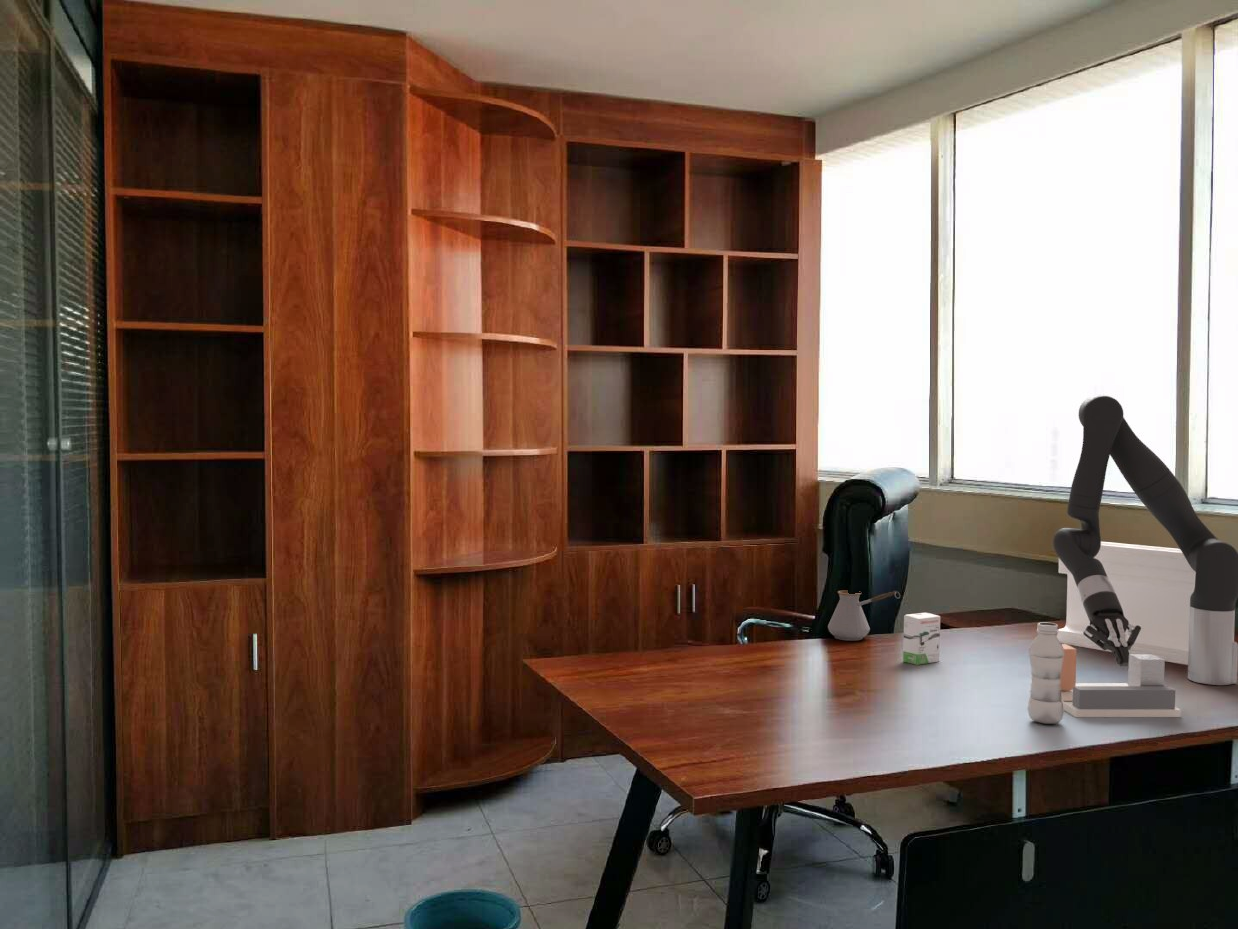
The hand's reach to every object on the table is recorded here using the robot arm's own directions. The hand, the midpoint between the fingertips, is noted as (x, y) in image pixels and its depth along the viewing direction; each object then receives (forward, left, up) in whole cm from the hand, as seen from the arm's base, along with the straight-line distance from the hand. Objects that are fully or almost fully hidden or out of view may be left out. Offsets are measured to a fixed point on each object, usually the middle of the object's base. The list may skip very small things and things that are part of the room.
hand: (1125, 664), depth 233 cm
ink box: (+34, -35, -8) cm, 49 cm away
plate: (+7, +4, -7) cm, 11 cm away
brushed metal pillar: (0, +9, -5) cm, 10 cm away
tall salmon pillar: (+14, -1, -5) cm, 15 cm away
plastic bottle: (+26, +19, -8) cm, 33 cm away
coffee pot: (+42, -60, -8) cm, 73 cm away
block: (-25, -47, -8) cm, 53 cm away
